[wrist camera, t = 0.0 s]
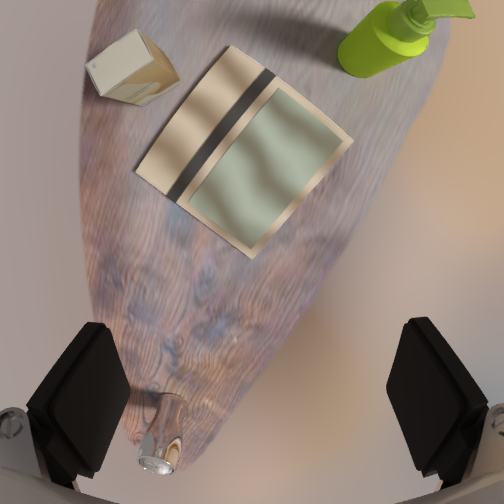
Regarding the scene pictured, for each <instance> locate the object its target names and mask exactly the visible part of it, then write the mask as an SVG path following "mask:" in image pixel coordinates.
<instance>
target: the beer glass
mask: <svg viewBox="0 0 504 504" xmlns="http://www.w3.org/2000/svg"><path fill="white" fill-rule="evenodd" d="M188 408H189V406H188V403H187V402H186V400H185V399H183V398H182V397H180V396H178V395H175V394H170V393H166V394H162V395H160V396H159V398H158V401H157V410H156V413H155V415H154V417H153V419H152V421H151V422H150V424H149V426H148V427H147V429H146V431H145V433H144V435H143V438H142V440H141V444H140V448H139V453H138V457H137V463H138V464H139V465H140V466H141V467H142V468H143V469H145V470H147V471H149V472H151V473H154V474H158V475H172V474H174V473H175V472H176V469H177V466H178V462H179V459H180V455H181V451H182V442H183V420H184V417H185V415H186V413H187V411H188Z"/></svg>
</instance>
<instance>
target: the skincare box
mask: <svg viewBox="0 0 504 504" xmlns="http://www.w3.org/2000/svg"><path fill="white" fill-rule="evenodd" d="M85 66H86V68H87V70H88V73H89V75H90V77H91V79H92V81H93V83H94V85H95V87H96V89H97V91H98V93H99V94H100V96H104V97H108V98H112V99H116V100H119V101H123V102H127V103H131V104H134V105H138V106H142V107H143V106H145V105H147V104H149V103H150V102H152V101H154V100H155V99H157V98H159V97H160V96H162V95H163V94H165V93H167V92H168V91H170V90H171V89H173V88H175V87H176V86H178V85H179V84H181V83H182V80H181V77H180V76H179V74H178V72H177V70H176V68H175V66H174V64H173V63H172V61H171V59H170V58H169V57H168V56H167V55H166V54H165V53H164V52H163V51H162V50H160V49H159V48H158V47H157V46H156V45H155V44H154V43H153V42H152V41H151V40H150V39H149V38H148V37H146V36H145V35H144V34H143V33H142V32H141V31H140V30H139V29H134V30H133V31H131V32H130V33H128V34H127V35H125V36H124V37H122V38H121V39H119V40H118V41H116V42H115V43H113V44H111V45H110V46H109V47H107V48H106V49H105V50H104V51H102V52H101V53H100V54H98V55H97V56H96V57H94V58H93V59H92V60H90V61H89V62H88V63H87V64H86V65H85Z"/></svg>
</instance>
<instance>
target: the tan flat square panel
mask: <svg viewBox="0 0 504 504" xmlns="http://www.w3.org/2000/svg"><path fill="white" fill-rule="evenodd" d="M353 141H354V140H353V139H352V138H350V137H349V136H348V135H347V134H346V133H345V132H344V131H343V130H342V129H341V128H339V127H338V126H337V125H336V124H335V123H334V122H333V121H332V120H330V119H329V118H328V117H327V116H326V115H325V114H323V113H322V112H321V111H320V110H319V109H318V108H316V107H315V106H314V105H313V104H312V103H310V102H309V101H308V100H307V99H305V98H304V97H303V96H302V95H300V94H299V93H298V92H297V91H295V90H294V89H293V88H291V87H290V86H289V85H288V84H286V83H285V82H284V81H282V80H281V79H280V78H278V77H277V76H276V75H275V74H273V73H272V72H271V71H269V70H268V69H267V68H265V67H263V66H262V65H260V64H259V63H258V62H256V61H255V60H253V59H252V58H250V57H249V56H247V55H246V54H244V53H243V52H241V51H240V50H238V49H237V48H235V47H234V46H232V45H231V46H230V47H229V48H228V49H227V51H226V52H225V53H224V54H223V55H222V56H221V57H220V58H219V60H218V61H217V62H216V63H215V64H214V65H213V67H212V68H211V69H210V70H209V71H208V73H207V74H206V75H205V76H204V77H203V79H202V80H201V81H200V82H199V84H198V85H197V86H196V87H195V89H194V90H193V91H192V92H191V94H190V95H189V96H188V97H187V99H186V100H185V101H184V103H183V104H182V105H181V107H180V108H179V109H178V111H177V112H176V113H175V115H174V116H173V117H172V119H171V120H170V122H169V123H168V124H167V126H166V127H165V128H164V130H163V131H162V133H161V134H160V136H159V137H158V138H157V140H156V141H155V143H154V144H153V146H152V147H151V149H150V150H149V152H148V153H147V155H146V156H145V158H144V159H143V161H142V162H141V164H140V166H139V167H138V169H137V170H136V173H137V174H138V175H140V176H141V177H142V178H144V179H145V180H146V181H148V182H149V183H150V184H152V185H153V186H154V187H156V188H157V189H158V190H160V191H161V192H162V193H164V194H165V195H166V196H167V197H168V198H169V199H171V200H172V201H173V202H175V203H177V204H178V205H180V206H181V207H182V208H184V209H185V210H186V211H188V212H189V213H190V214H192V215H193V216H194V217H196V218H197V219H198V220H200V221H201V222H202V223H204V224H205V225H207V226H208V227H209V228H211V229H212V230H213V231H215V232H216V233H217V234H219V235H220V236H221V237H223V238H224V239H225V240H227V241H228V242H229V243H231V244H232V245H233V246H235V247H236V248H237V249H239V250H240V251H241V252H243V253H244V254H246V255H247V256H248V257H250V258H251V259H253V258H254V257H255V256H256V255H257V253H258V252H259V251H260V250H261V249H262V248H263V246H264V245H265V244H266V243H267V242H268V241H269V239H270V238H271V237H272V236H273V235H274V234H275V232H276V231H277V230H278V229H279V228H280V227H281V225H282V224H283V223H284V222H285V221H286V220H287V219H288V217H289V216H290V215H291V214H292V213H293V212H294V210H295V209H296V208H297V207H298V206H299V205H300V203H301V202H302V201H303V200H304V199H305V198H306V196H307V195H308V194H309V193H310V192H311V191H312V189H313V188H314V187H315V186H316V185H317V184H318V182H319V181H320V180H321V179H322V178H323V177H324V175H325V174H326V173H327V172H328V171H329V170H330V168H331V167H332V166H333V165H334V164H335V163H336V161H337V160H338V159H339V158H340V157H341V155H342V154H343V153H344V152H345V151H346V150H347V148H348V147H349V146H350V145H351V144H352V143H353Z"/></svg>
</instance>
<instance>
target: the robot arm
mask: <svg viewBox="0 0 504 504" xmlns="http://www.w3.org/2000/svg"><path fill="white" fill-rule="evenodd" d="M386 390H387V394H388V397H389V399H390V402H391V404H392V407H393V409H394V412H395V414H396V417H397V419H398V422H399V424H400V427H401V430H402V432H403V435H404V437H405V440H406V443H407V445H408V448H409V451H410V454H411V456H412V459H413V462H414V465H415V467H416V469H417V470H418V471H421V472H422V475H423V477H428V476H430V475H433V474H437V473H438V476H439V478H440V481H439V483H438V485H437V488H436V490H435V492H434V493H430V494H428V495H424V496H421V497H417V498H414V499H411V500H407V501H403V502H400V503H396V504H504V403H502V404H496V405H494V406H492V407H491V408H490V409H489V408H488V406H487V403H488V400H487V399H486V397H485V395H484V394H483V393H482V391H481V389H480V388H479V386H478V385H477V384H476V382H475V381H474V379H473V378H472V377H471V375H470V373H469V372H468V370H467V369H466V368H465V366H464V365H463V363H462V362H461V361H460V359H459V358H458V356H457V355H456V354H455V352H454V351H453V350H452V348H451V347H450V345H449V344H448V343H447V341H446V340H445V339H444V338H443V336H442V335H441V334H440V332H439V331H438V330H437V328H436V327H435V326H434V324H433V323H432V322H431V321H430V320H429V318H428V317H417V318H411V319H410V320H409V321H408V323H406V324H404V327H403V330H402V334H401V337H400V341H399V345H398V348H397V352H396V356H395V359H394V362H393V365H392V369H391V372H390V375H389V378H388V381H387V385H386ZM129 397H130V385H129V383H128V380H127V378H126V375H125V372H124V369H123V366H122V364H121V361H120V358H119V355H118V352H117V349H116V346H115V343H114V340H113V336H112V333H111V331H110V329H109V328H107V327H106V325H105V324H103V323H96V322H87V323H86V324H85V325H84V326H83V328H82V329H81V330H80V331H79V333H78V334H77V335H76V337H75V338H74V339H73V341H72V342H71V343H70V344H69V346H68V347H67V348H66V350H65V351H64V352H63V354H62V355H61V356H60V358H59V359H58V361H57V362H56V363H55V364H54V366H53V367H52V369H51V370H50V371H49V373H48V374H47V375H46V377H45V378H44V380H43V381H42V382H41V384H40V386H39V387H38V388H37V390H36V391H35V393H34V394H33V396H32V397H31V398H30V400H29V401H28V403H27V404H26V406H27V407H28V409H29V410H28V411H27V413H25V412H24V410H22V409H20V408H16V407H11V408H6V409H4V410H2V411H1V412H0V504H118V503H114V502H110V501H107V500H104V499H100V498H96V497H93V496H90V495H87V494H84V493H81V492H80V489H79V487H78V484H77V482H76V477H77V474H79V475H82V476H85V477H88V478H91V479H93V476H94V473H95V472H98V471H99V470H100V468H101V466H102V463H103V460H104V458H105V455H106V453H107V450H108V448H109V445H110V443H111V440H112V438H113V435H114V433H115V430H116V428H117V425H118V423H119V421H120V418H121V416H122V413H123V411H124V409H125V406H126V404H127V401H128V399H129Z"/></svg>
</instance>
